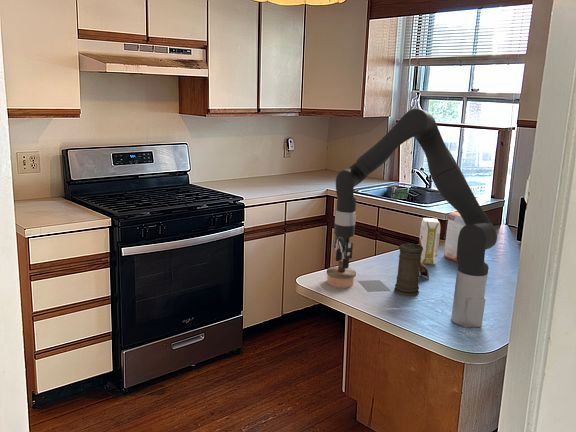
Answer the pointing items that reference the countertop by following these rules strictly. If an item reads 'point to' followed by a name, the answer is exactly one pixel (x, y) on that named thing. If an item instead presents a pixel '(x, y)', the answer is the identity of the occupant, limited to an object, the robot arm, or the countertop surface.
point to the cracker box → (453, 235)
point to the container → (408, 269)
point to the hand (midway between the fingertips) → (341, 264)
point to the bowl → (340, 282)
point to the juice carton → (429, 240)
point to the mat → (374, 285)
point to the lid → (341, 272)
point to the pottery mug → (423, 271)
